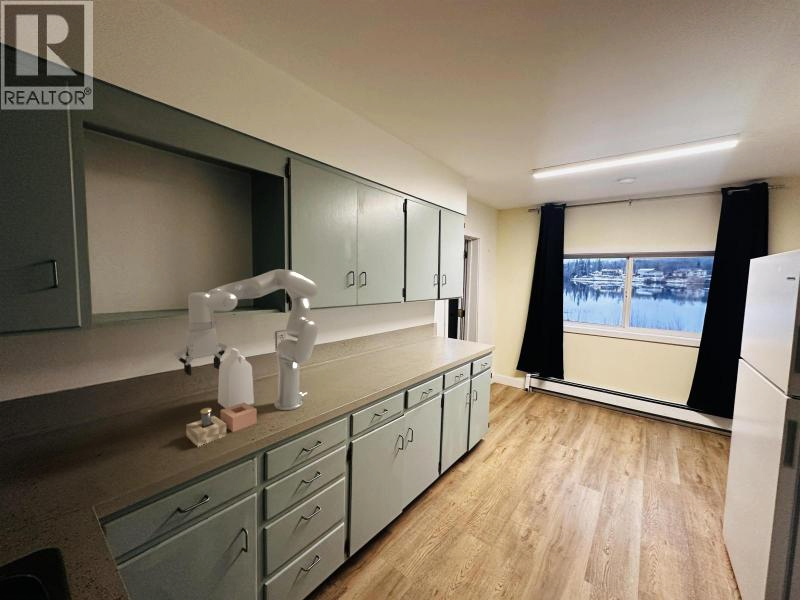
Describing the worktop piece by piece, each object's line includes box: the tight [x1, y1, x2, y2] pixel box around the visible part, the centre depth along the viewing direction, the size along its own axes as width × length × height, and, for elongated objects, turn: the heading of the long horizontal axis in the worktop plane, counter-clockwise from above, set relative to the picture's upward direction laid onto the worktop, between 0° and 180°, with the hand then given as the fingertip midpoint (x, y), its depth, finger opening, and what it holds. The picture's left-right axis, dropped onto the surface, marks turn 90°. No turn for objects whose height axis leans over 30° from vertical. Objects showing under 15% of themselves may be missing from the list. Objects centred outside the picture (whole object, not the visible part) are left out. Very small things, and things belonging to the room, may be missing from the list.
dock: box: [220, 403, 258, 433], centre depth 135 cm, size 10×10×6 cm
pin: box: [200, 407, 212, 428], centre depth 124 cm, size 4×4×11 cm
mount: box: [185, 415, 227, 448], centre depth 124 cm, size 10×10×5 cm
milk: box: [217, 347, 255, 409], centre depth 153 cm, size 12×12×26 cm
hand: (203, 371), depth 121 cm, fingers open, 9 cm apart
